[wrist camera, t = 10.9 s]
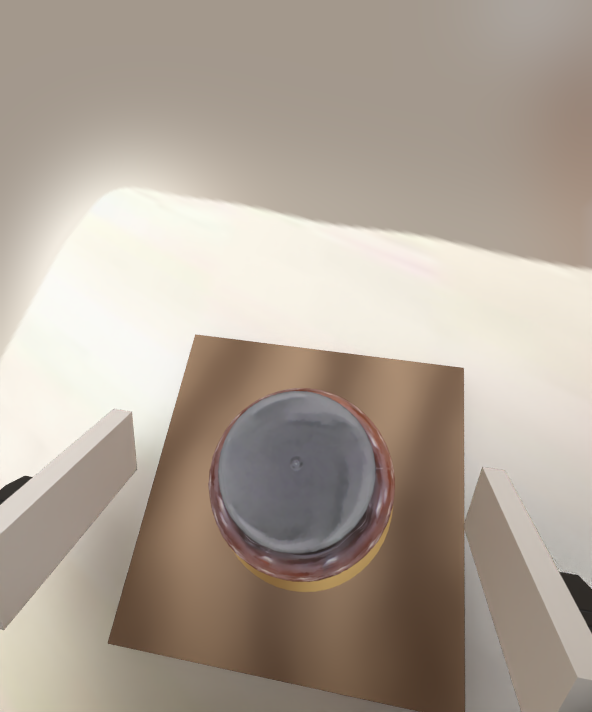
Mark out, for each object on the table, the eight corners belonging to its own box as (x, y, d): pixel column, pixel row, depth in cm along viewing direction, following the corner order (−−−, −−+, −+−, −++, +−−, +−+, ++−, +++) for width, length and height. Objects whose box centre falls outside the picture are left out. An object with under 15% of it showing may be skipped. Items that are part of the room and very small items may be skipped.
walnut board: (458, 374, 23) (464, 367, 22) (457, 710, 17) (466, 723, 16) (199, 341, 25) (194, 333, 24) (117, 637, 19) (105, 644, 18)
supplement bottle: (241, 449, 21) (165, 378, 11) (348, 423, 21) (374, 329, 11) (262, 572, 19) (192, 632, 8) (382, 541, 19) (457, 563, 9)
